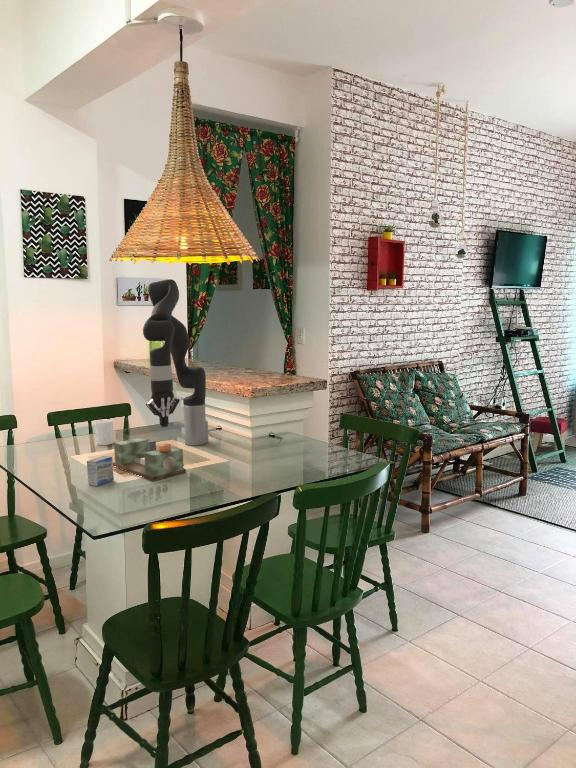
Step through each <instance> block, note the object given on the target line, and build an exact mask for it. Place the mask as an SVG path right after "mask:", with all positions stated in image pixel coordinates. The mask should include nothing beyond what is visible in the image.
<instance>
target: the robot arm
mask: <svg viewBox="0 0 576 768" xmlns="http://www.w3.org/2000/svg"><path fill="white" fill-rule="evenodd" d="M178 287H179V286H178V283H177V282H176V281H175V280H174V279H172V278H171V279H170V278H169V279H168V278H167V279H163V280H159V281H154V282H150V283H149V284H148V286H147V291H148V296H149V299H150V302H151V304H152V306H153V309H152V311H151V315H150V316H149V317H148V319H147V320H146V321H145V322H144V325H143V328H142V335H143V337H144V338H145V340H147V341H149V342H164V343H163V345H162V346H158V347H154V348H152V349H150V351H149V358H150V359H149V360H150V362H149V363H150V371H149V372H150V373H149V374H150V377H149V378H150V391H151V397H150V400H149V402H146V403H145V406H146V407H147V409H149V411H150V412H151V413H152V414H153V415H154V416H156V417H157V416H158V418H159V426H161V428H167V427H169V422H170V421H169V416H170V415H172V414H173V413H174V412H175V410H176V408H177V407H178V404H179V403H180V401H181V400H180V398H177V397H175V394H174V392H173V391H174V383H173V382H174V380H173V378H174V377H173V368H172V361H173V366H174V369H175V374H176V377H177V381H178V383H179V385H180V387H182V388H183V389H191V390H192V389H193V391H194V392H193V393H192V394H191V395H187V396H185V397H183V400H182V401H183V402H182V404H183V422H184V424H183V425H184V443H185V445H187V446H202V445H205V444H207V443H209V421H208V420H207V418H206V386H207V384H206V382H207V381H206V379H207V377H206V371H205V369H204V368H203V367H200V366H187V363H186V356H187V354H188V350H189V349H190V345H191V339H190V337H189V336H190V335H189V332H188V330H187V327H186V325H184V324H183V322H181V321H180V320H179V319H178V318H176V317H175V316H173V312H174V309H175V308H176V305H178V304H177V303H178V302H179V298H180V291H179V288H178Z"/></svg>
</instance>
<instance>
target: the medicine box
mask: <svg viewBox="0 0 576 768" xmlns="http://www.w3.org/2000/svg"><path fill="white" fill-rule="evenodd" d="M86 471H87V472H86V473H87V482H88V483H87V484H88V485H89V486H94V487H99V486H102V485H105V484H107V483H110V481H111V482H113V481H114V480H115V478H114V467H113V457H112V456H109V455H101V456H99V457H95V458H92V459H88V460H86ZM112 480H113V481H112Z"/></svg>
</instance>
